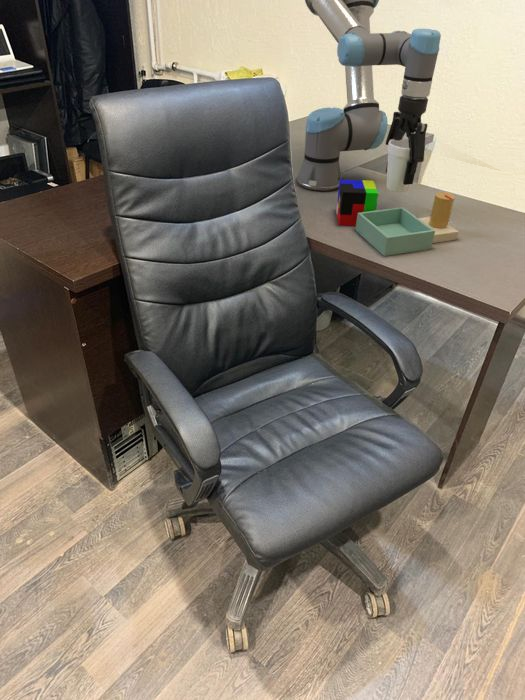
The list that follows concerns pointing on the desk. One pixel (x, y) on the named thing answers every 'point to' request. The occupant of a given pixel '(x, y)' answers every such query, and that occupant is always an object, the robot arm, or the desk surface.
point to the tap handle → (441, 210)
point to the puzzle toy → (355, 200)
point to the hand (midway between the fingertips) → (398, 177)
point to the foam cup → (397, 164)
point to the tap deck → (442, 232)
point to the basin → (394, 231)
